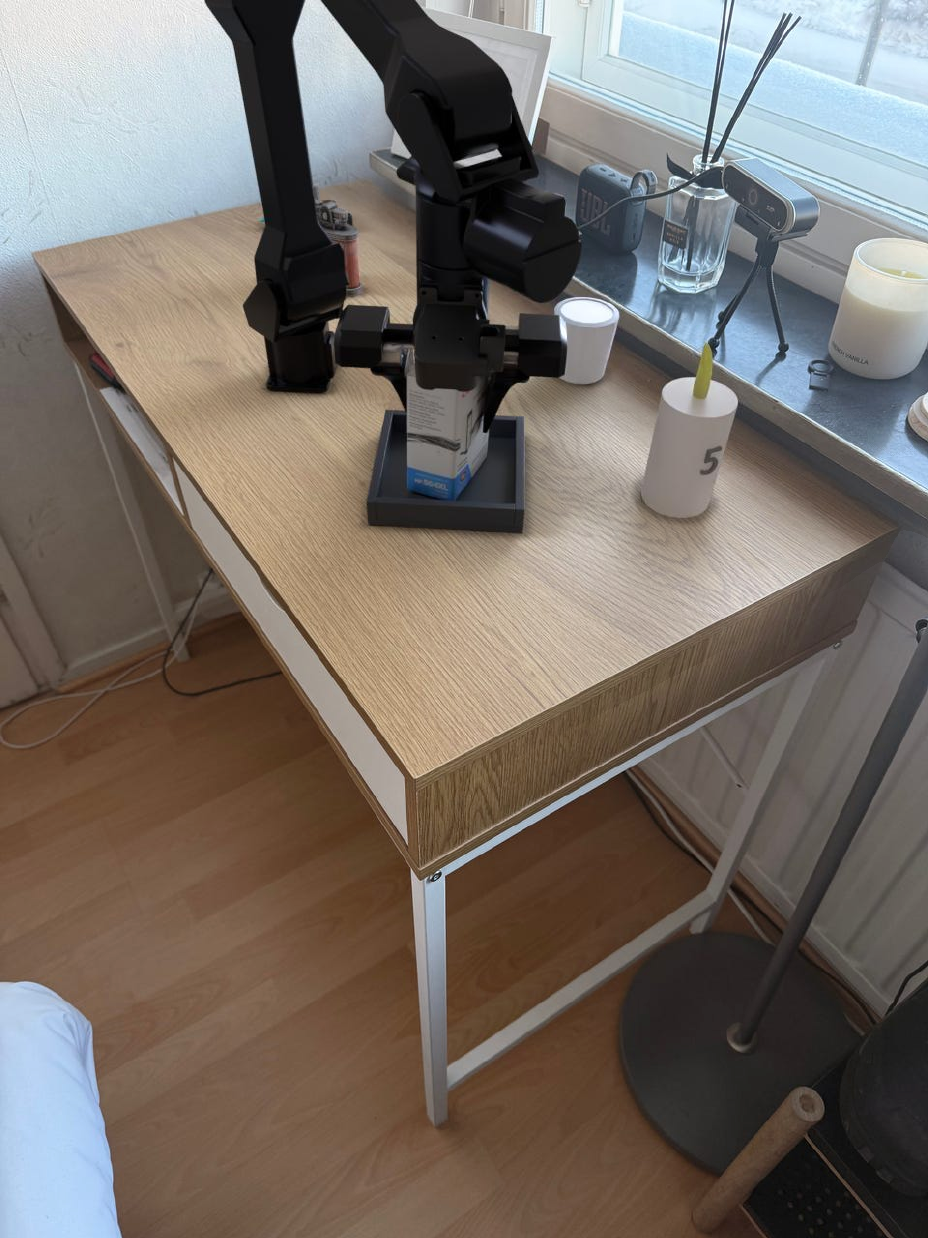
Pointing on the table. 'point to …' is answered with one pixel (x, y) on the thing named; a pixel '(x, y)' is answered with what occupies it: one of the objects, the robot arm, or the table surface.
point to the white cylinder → (587, 337)
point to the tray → (480, 505)
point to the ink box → (444, 437)
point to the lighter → (342, 240)
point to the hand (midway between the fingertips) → (450, 428)
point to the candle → (688, 442)
